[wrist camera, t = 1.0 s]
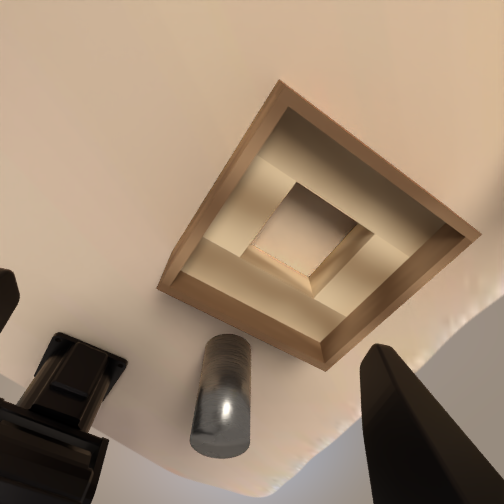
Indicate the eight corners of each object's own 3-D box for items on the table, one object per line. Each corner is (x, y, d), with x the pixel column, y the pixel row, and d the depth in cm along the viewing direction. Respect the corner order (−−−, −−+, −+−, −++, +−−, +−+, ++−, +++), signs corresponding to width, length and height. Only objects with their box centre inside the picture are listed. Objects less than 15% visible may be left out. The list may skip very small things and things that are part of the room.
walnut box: (315, 327, 28) (325, 371, 24) (172, 251, 24) (156, 288, 20) (442, 202, 22) (482, 234, 18) (279, 79, 18) (285, 85, 15)
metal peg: (235, 372, 31) (229, 464, 24) (197, 355, 30) (179, 446, 23) (260, 346, 29) (261, 437, 22) (220, 327, 28) (208, 416, 21)
